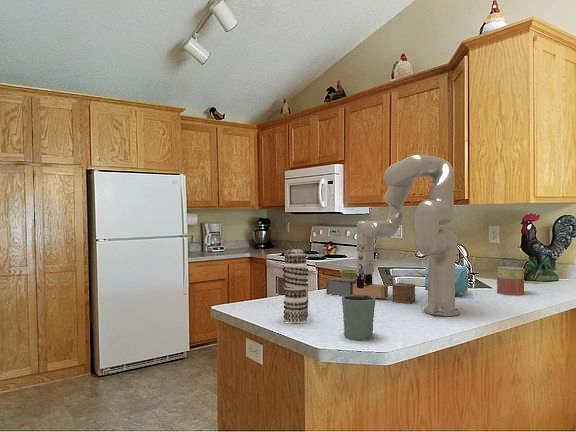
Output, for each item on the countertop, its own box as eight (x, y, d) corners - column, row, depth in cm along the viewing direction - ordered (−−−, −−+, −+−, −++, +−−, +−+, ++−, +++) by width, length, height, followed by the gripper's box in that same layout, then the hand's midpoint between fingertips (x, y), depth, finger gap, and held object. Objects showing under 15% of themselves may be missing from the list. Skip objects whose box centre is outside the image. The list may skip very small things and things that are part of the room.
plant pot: (362, 287, 213) (362, 270, 213) (351, 290, 206) (351, 272, 206) (346, 285, 219) (346, 269, 219) (336, 288, 212) (335, 271, 212)
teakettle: (424, 297, 188) (424, 264, 188) (426, 290, 206) (426, 260, 206) (470, 300, 182) (470, 266, 181) (468, 292, 199) (468, 261, 199)
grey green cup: (336, 337, 127) (336, 298, 127) (349, 329, 136) (349, 292, 136) (368, 343, 122) (368, 301, 122) (380, 334, 130) (380, 295, 130)
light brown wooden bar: (384, 298, 181) (384, 286, 181) (330, 292, 196) (330, 281, 196) (387, 296, 185) (387, 285, 185) (334, 291, 199) (334, 280, 199)
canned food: (505, 290, 204) (505, 265, 204) (529, 294, 194) (529, 268, 194) (492, 293, 198) (491, 267, 197) (516, 296, 188) (516, 270, 188)
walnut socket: (410, 304, 174) (410, 286, 174) (392, 302, 178) (392, 285, 178) (415, 301, 180) (415, 284, 180) (397, 299, 184) (397, 282, 184)
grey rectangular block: (350, 297, 189) (350, 281, 189) (326, 294, 195) (326, 279, 195) (356, 294, 195) (356, 279, 194) (333, 292, 201) (333, 277, 201)
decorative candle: (279, 323, 144) (278, 250, 144) (286, 317, 153) (286, 248, 153) (305, 325, 142) (304, 251, 141) (311, 318, 150) (310, 249, 150)
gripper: (365, 250, 179) (364, 290, 180) (380, 247, 194) (379, 284, 194) (349, 249, 183) (348, 288, 184) (364, 246, 198) (364, 282, 198)
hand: (364, 286), depth 189 cm, fingers open, 9 cm apart
